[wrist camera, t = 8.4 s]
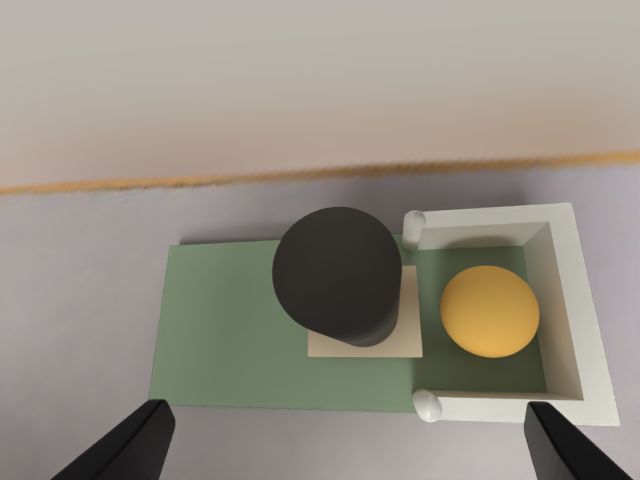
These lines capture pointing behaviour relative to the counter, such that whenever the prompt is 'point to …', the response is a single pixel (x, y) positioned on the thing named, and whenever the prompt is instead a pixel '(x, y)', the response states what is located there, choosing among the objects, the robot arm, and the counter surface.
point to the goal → (554, 306)
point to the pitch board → (292, 339)
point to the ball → (489, 311)
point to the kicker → (348, 286)
